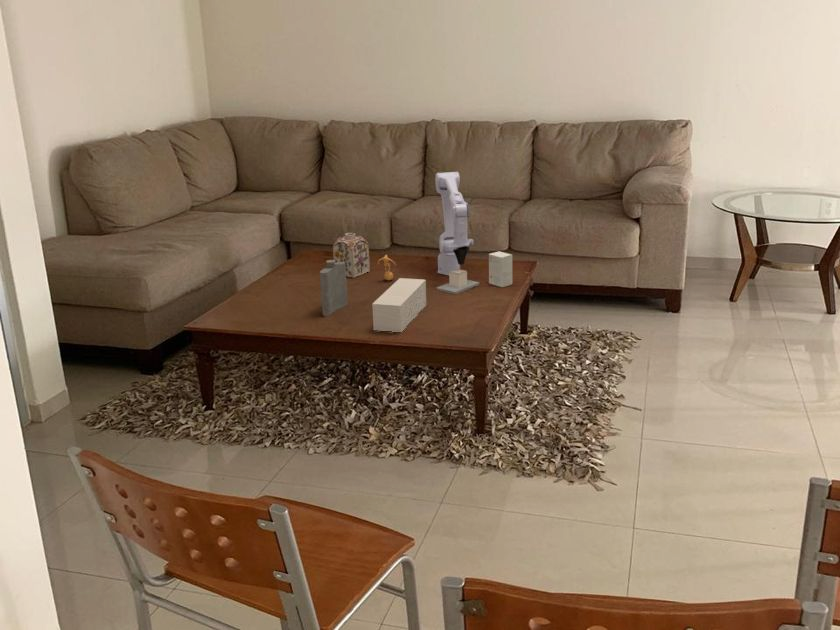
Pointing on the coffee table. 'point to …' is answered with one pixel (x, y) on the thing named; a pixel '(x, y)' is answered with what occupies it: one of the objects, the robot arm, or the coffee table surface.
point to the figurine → (388, 274)
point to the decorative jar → (352, 254)
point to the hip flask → (333, 286)
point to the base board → (456, 289)
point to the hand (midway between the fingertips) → (461, 264)
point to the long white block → (399, 305)
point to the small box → (500, 269)
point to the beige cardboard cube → (458, 278)
